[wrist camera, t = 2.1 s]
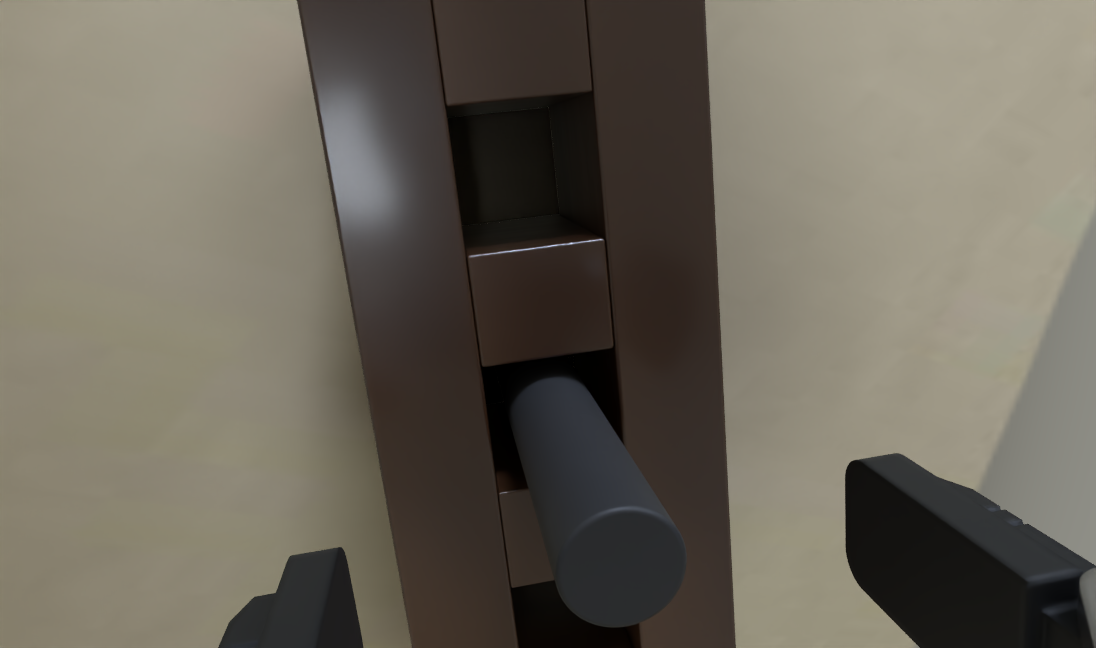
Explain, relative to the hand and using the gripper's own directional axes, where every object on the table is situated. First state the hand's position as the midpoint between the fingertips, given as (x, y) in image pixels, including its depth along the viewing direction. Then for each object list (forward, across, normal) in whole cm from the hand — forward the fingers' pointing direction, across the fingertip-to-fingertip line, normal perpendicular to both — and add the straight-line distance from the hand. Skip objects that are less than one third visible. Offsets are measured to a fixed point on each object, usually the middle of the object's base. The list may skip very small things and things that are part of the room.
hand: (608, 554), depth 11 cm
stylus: (+11, 0, 0) cm, 11 cm away
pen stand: (+11, 0, 0) cm, 11 cm away
